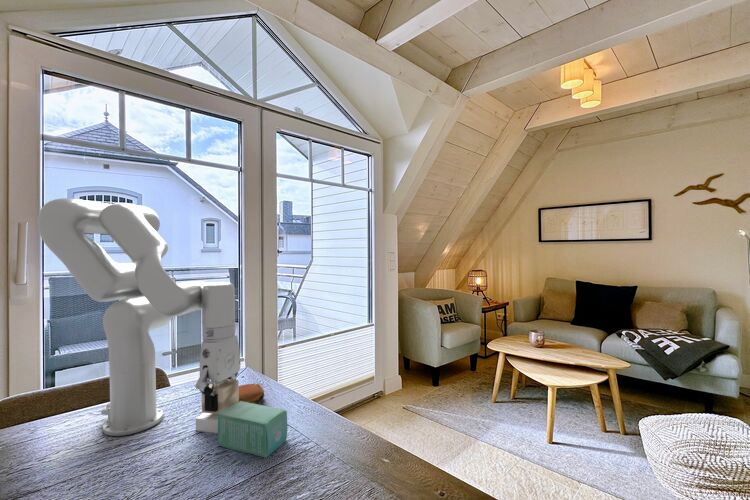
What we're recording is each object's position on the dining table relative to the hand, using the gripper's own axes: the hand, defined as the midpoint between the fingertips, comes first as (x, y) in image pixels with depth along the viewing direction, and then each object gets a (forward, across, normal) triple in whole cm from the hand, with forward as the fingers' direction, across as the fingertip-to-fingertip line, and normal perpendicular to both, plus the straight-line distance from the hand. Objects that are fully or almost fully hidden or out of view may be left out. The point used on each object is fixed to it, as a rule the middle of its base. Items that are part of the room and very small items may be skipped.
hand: (220, 403), depth 87 cm
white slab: (+5, 0, 0) cm, 5 cm away
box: (+5, -6, -13) cm, 15 cm away
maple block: (+1, 0, 0) cm, 1 cm away
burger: (+5, +12, +1) cm, 13 cm away
